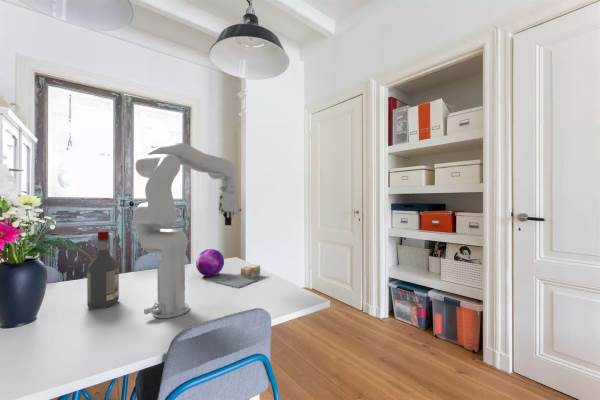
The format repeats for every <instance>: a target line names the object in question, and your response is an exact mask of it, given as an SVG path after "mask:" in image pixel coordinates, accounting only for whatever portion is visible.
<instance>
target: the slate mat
mask: <svg viewBox="0 0 600 400" xmlns="http://www.w3.org/2000/svg"><path fill="white" fill-rule="evenodd" d="M263 278H264V279H266V277H265V276H263V275H257V276H254V277H252V278H249V279H246V278H241V273H238V274H235V275H232V276H230V277H226V278H222V279H220V280H217V281H215V283H216V284H219V285H223V286H226V287H231V288H235V289H241V288H243V287H246V286H248V285H251V284H254V283H256V282H259V281H261V280H264V279H263ZM258 280H259V281H258ZM253 282H254V283H253Z"/></svg>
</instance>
